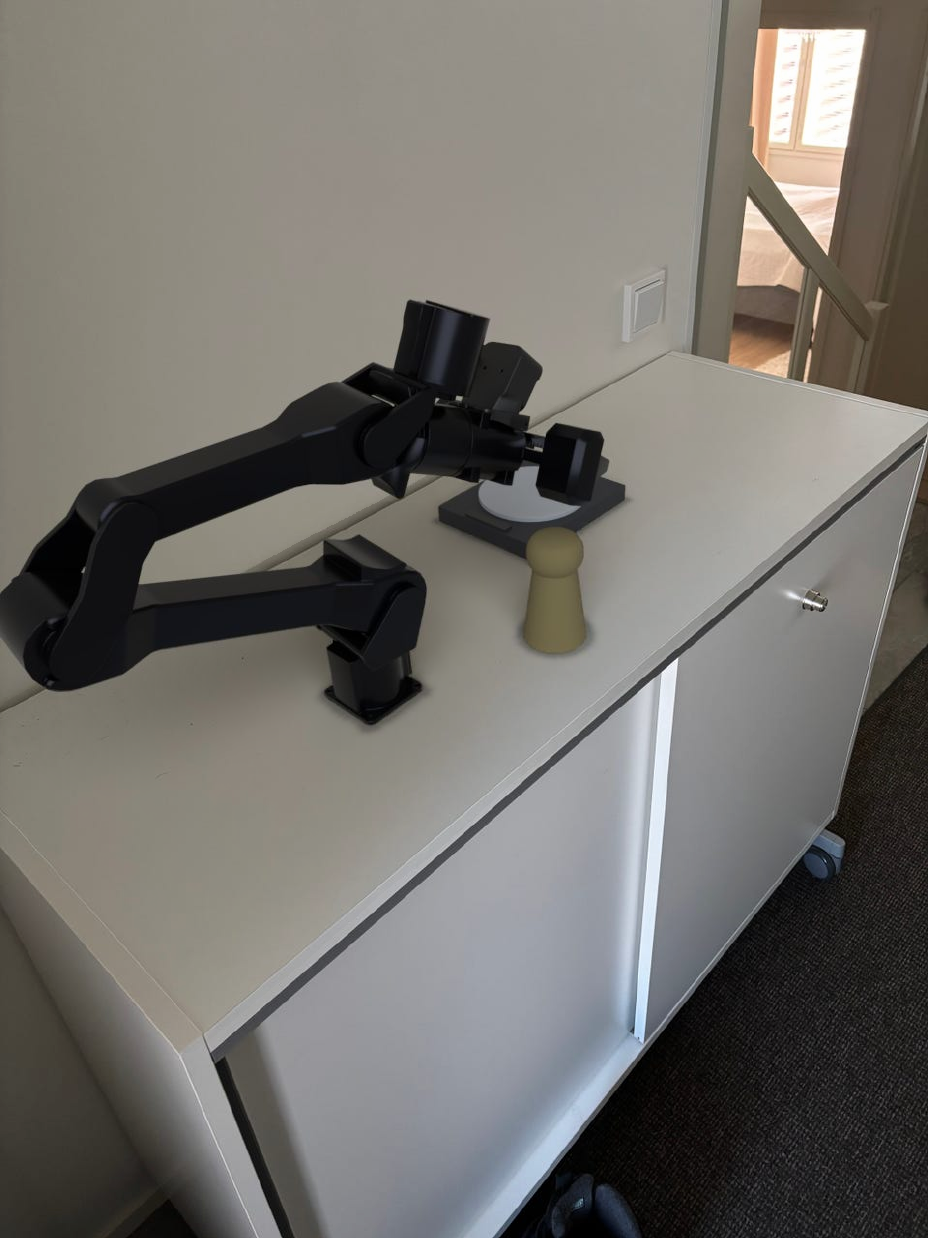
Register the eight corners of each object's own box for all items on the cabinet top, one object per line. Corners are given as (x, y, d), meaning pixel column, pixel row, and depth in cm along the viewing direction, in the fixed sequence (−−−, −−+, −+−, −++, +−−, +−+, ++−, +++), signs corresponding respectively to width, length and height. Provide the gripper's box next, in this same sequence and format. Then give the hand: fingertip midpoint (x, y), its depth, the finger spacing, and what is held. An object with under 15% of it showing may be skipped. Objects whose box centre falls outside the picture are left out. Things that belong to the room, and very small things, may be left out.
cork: (597, 626, 88) (600, 527, 82) (568, 660, 84) (569, 559, 78) (541, 609, 91) (541, 512, 85) (511, 641, 87) (508, 542, 81)
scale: (531, 561, 98) (531, 540, 97) (438, 520, 107) (437, 501, 105) (624, 500, 108) (625, 480, 107) (533, 467, 116) (532, 448, 115)
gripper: (552, 353, 67) (671, 382, 78) (393, 328, 80) (515, 356, 90) (521, 503, 70) (641, 511, 81) (372, 456, 82) (493, 468, 93)
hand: (568, 455), depth 86 cm, fingers open, 9 cm apart
